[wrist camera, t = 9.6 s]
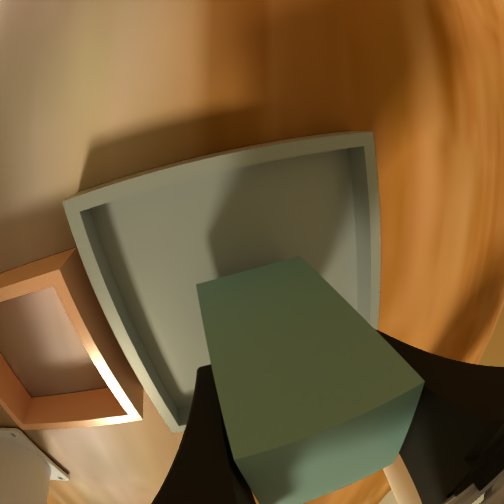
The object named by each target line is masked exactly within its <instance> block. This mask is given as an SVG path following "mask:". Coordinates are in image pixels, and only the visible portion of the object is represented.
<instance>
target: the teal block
mask: <svg viewBox="0 0 504 504" xmlns="http://www.w3.org/2000/svg"><path fill="white" fill-rule="evenodd" d="M196 288H197V294H198V299H199V305H200V310H201V316H202V321H203V326H204V332H205V337H206V342H207V347H208V352H209V357H210V361H211V366H212V371H213V375H214V380H215V385H216V389H217V393H218V398H219V402H220V406H221V411H222V415H223V419H224V423H225V427H226V431H227V435H228V439H229V443H230V447H231V451H232V454H233V458H234V461H235V463H236V464H237V466H238V468H239V470H240V472H241V473H242V475H243V477H244V479H245V480H246V482H247V484H248V485H249V487H250V489H251V490H252V492H253V494H254V495H255V497H256V499H257V500H258V502H259V503H260V504H302V503H305V502H308V501H310V500H313V499H316V498H319V497H321V496H324V495H326V494H329V493H332V492H334V491H336V490H339V489H341V488H344V487H346V486H348V485H350V484H353V483H355V482H357V481H359V480H361V479H363V478H365V477H367V476H370V475H372V474H374V473H376V472H378V471H379V470H381V469H383V468H385V467H387V466H389V465H391V464H393V463H394V462H395V460H396V458H397V456H398V453H399V451H400V449H401V446H402V444H403V442H404V439H405V437H406V434H407V432H408V429H409V426H410V424H411V421H412V418H413V416H414V413H415V410H416V407H417V404H418V401H419V398H420V395H421V392H422V389H423V386H424V382H425V381H424V380H423V379H422V378H421V377H420V376H419V374H418V373H417V372H416V371H415V370H414V369H413V368H412V367H411V366H410V365H409V364H408V363H407V362H406V361H405V360H404V359H403V358H402V357H401V356H400V355H399V354H398V353H397V352H396V351H395V350H394V348H393V347H392V346H391V345H390V344H389V343H388V342H387V341H386V340H385V339H384V338H383V337H382V336H381V335H380V334H379V333H378V332H377V331H376V330H375V329H374V328H373V327H372V326H371V325H370V324H369V323H368V322H367V321H366V320H365V319H364V318H363V317H362V316H361V315H360V314H359V313H358V312H357V311H356V310H355V309H354V308H353V307H352V306H351V305H350V304H349V303H348V302H347V301H346V300H345V299H344V298H343V297H342V296H341V295H340V294H339V293H338V292H337V291H336V290H335V289H334V288H333V287H332V286H331V285H330V284H329V283H328V282H327V281H326V280H325V279H324V278H323V277H322V276H321V275H320V274H319V273H318V272H316V271H315V270H314V269H313V268H312V267H311V266H310V265H309V264H308V263H307V262H306V261H305V260H304V259H303V258H302V257H301V256H297V257H294V258H290V259H286V260H283V261H279V262H276V263H272V264H269V265H265V266H261V267H258V268H254V269H251V270H247V271H243V272H240V273H236V274H232V275H229V276H225V277H221V278H218V279H214V280H210V281H206V282H203V283H199V284H196Z"/></svg>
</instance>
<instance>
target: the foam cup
mask: <svg viewBox="0 0 504 504" xmlns="http://www.w3.org/2000/svg"><path fill="white" fill-rule="evenodd" d="M383 470H384V473H385V475H386V477H387V480H388V482H389V484H390V487H391V489H392V491H393V493H394V496H395V498H396V500H397V503H398V504H422V502H421V499H420V497H419V495H418V492H417V490H416V487H415V485H414V483H413V481H412V478H411V476H410V474H409V472H408V470H407V468H406V466H405V464H404V462H403V460H402V458H401V456H400V454H399V453H398V456H397V458H396V460H395V462H394V463H393V464H391V465H389V466H387V467H385V468H383ZM454 498H455V497H454ZM454 498H453V499H454ZM451 500H452V499H451ZM451 500H450V501H451ZM450 501H449V502H450ZM447 503H448V502H447ZM447 503H446V504H447Z"/></svg>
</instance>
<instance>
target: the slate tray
mask: <svg viewBox="0 0 504 504" xmlns="http://www.w3.org/2000/svg"><path fill="white" fill-rule="evenodd" d="M62 203H63V207H64V210H65V213H66V216H67V219H68V222H69V226H70V229H71V231H72V234H73V237H74V240H75V243H76V246H77V248H78V251H79V254H80V257H81V259H82V262H83V264H84V267H85V270H86V272H87V274H88V277H89V279H90V282H91V284H92V287H93V289H94V291H95V294H96V296H97V298H98V300H99V303H100V305H101V307H102V309H103V311H104V314H105V316H106V318H107V320H108V322H109V324H110V326H111V328H112V330H113V332H114V334H115V336H116V338H117V340H118V342H119V344H120V346H121V348H122V350H123V352H124V354H125V356H126V357H127V359H128V361H129V363H130V365H131V367H132V368H133V370H134V372H135V374H136V375H137V377H138V379H139V381H140V382H141V384H142V386H143V387H144V389H145V391H146V392H147V394H148V396H149V397H150V399H151V401H152V402H153V404H154V405H155V407H156V408H157V410H158V412H159V413H160V415H161V416H162V418H163V419H164V421H165V422H166V424H167V425H168V427H169V428H170V430H171V431H172V433H177V432H182V431H185V428H186V424H187V421H188V417H189V413H190V409H191V405H192V400H193V395H194V390H195V383H196V374H197V369H198V368H199V367H202V366H206V365H210V364H211V361H210V357H209V352H208V347H207V342H206V337H205V332H204V326H203V321H202V316H201V310H200V305H199V299H198V294H197V288H196V284H199V283H203V282H206V281H210V280H214V279H218V278H221V277H225V276H229V275H232V274H236V273H240V272H243V271H247V270H251V269H254V268H258V267H261V266H265V265H269V264H272V263H276V262H279V261H283V260H286V259H290V258H294V257H297V256H301V257H302V258H303V259H304V260H305V261H306V262H307V263H308V264H309V265H310V266H311V267H312V268H313V269H314V270H315V271H316V272H318V273H319V274H320V275H321V276H322V277H323V278H324V279H325V280H326V281H327V282H328V283H329V284H330V285H331V286H332V287H333V288H334V289H335V290H336V291H337V292H338V293H339V294H340V295H341V296H342V297H343V298H344V299H345V300H346V301H347V302H348V303H349V304H350V305H351V306H352V307H353V308H354V309H355V310H356V311H357V312H358V313H359V314H360V315H361V316H362V317H363V318H364V319H365V320H366V321H367V322H368V323H369V324H370V325H371V326H372V327H373V328H374V329H376V330H378V320H379V303H380V273H381V235H380V205H379V187H378V174H377V162H376V152H375V143H374V134H373V132H372V131H344V132H335V133H327V134H319V135H312V136H305V137H298V138H292V139H286V140H279V141H274V142H268V143H262V144H257V145H252V146H246V147H241V148H236V149H232V150H227V151H222V152H218V153H213V154H209V155H204V156H200V157H196V158H192V159H188V160H184V161H180V162H176V163H172V164H168V165H164V166H161V167H157V168H153V169H150V170H146V171H143V172H139V173H136V174H133V175H129V176H126V177H123V178H119V179H116V180H113V181H110V182H107V183H104V184H101V185H98V186H95V187H92V188H89V189H86V190H83V191H80V192H77V193H76V194H74V195H72V196H71V197H69V198H67V199H66V200H64V201H62Z"/></svg>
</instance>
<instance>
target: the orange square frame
mask: <svg viewBox="0 0 504 504" xmlns="http://www.w3.org/2000/svg"><path fill="white" fill-rule="evenodd" d="M52 286H54V288H55V290H56V292H57V295H58V297H59V299H60V301H61V303H62V305H63V307H64V309H65V311H66V313H67V315H68V317H69V319H70V321H71V323H72V325H73V327H74V329H75V331H76V333H77V335H78V336H79V338H80V340H81V342H82V344H83V345H84V347H85V349H86V351H87V352H88V354H89V356H90V358H91V359H92V361H93V363H94V364H95V366H96V368H97V369H98V371H99V372H100V374H101V376H102V377H103V379H104V380H105V382H106V383H107V385H108V386H109V387H108V388H102V389H96V390H90V391H83V392H76V393H68V394H60V395H52V396H42V397H31V396H30V395H29V393H28V392H27V391H26V389H25V388H24V387H23V385H22V384H21V383H20V381H19V380H18V378H17V377H16V376H15V374H14V373H13V371H12V370H11V368H10V367H9V366H8V364H7V363H6V361H5V359H4V358H3V356H2V355H1V353H0V405H1V406H2V408H3V409H4V410H5V411H6V412H7V414H8V415H9V416H10V417H11V418H12V419H13V420H14V422H15V423H16V424H17V425H18V426H19V427H20V428H21V429H22V430H44V429H65V428H79V427H90V426H100V425H109V424H117V423H124V422H131V421H138V420H143V389H144V388H143V387H142V385H141V383H140V382H139V380H138V378H137V376H136V375H135V373H134V371H133V369H132V368H131V366H130V364H129V362H128V360H127V359H126V357H125V355H124V353H123V351H122V349H121V347H120V345H119V343H118V341H117V340H116V338H115V336H114V334H113V332H112V330H111V327H110V325H109V323H108V321H107V319H106V317H105V315H104V313H103V311H102V308H101V306H100V304H99V302H98V300H97V297H96V295H95V293H94V290H93V288H92V286H91V283H90V281H89V279H88V276H87V274H86V271H85V269H84V266H83V264H82V261H81V258H80V256H79V253H78V250H77V248H74V249H71V250H67V251H64V252H61V253H58V254H55V255H52V256H49V257H46V258H43V259H40V260H37V261H34V262H32V263H29V264H26V265H23V266H20V267H17V268H14V269H12V270H9V271H6V272H3V273H1V274H0V302H2V301H5V300H9V299H12V298H15V297H19V296H22V295H25V294H29V293H32V292H35V291H39V290H42V289H45V288H49V287H52Z"/></svg>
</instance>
